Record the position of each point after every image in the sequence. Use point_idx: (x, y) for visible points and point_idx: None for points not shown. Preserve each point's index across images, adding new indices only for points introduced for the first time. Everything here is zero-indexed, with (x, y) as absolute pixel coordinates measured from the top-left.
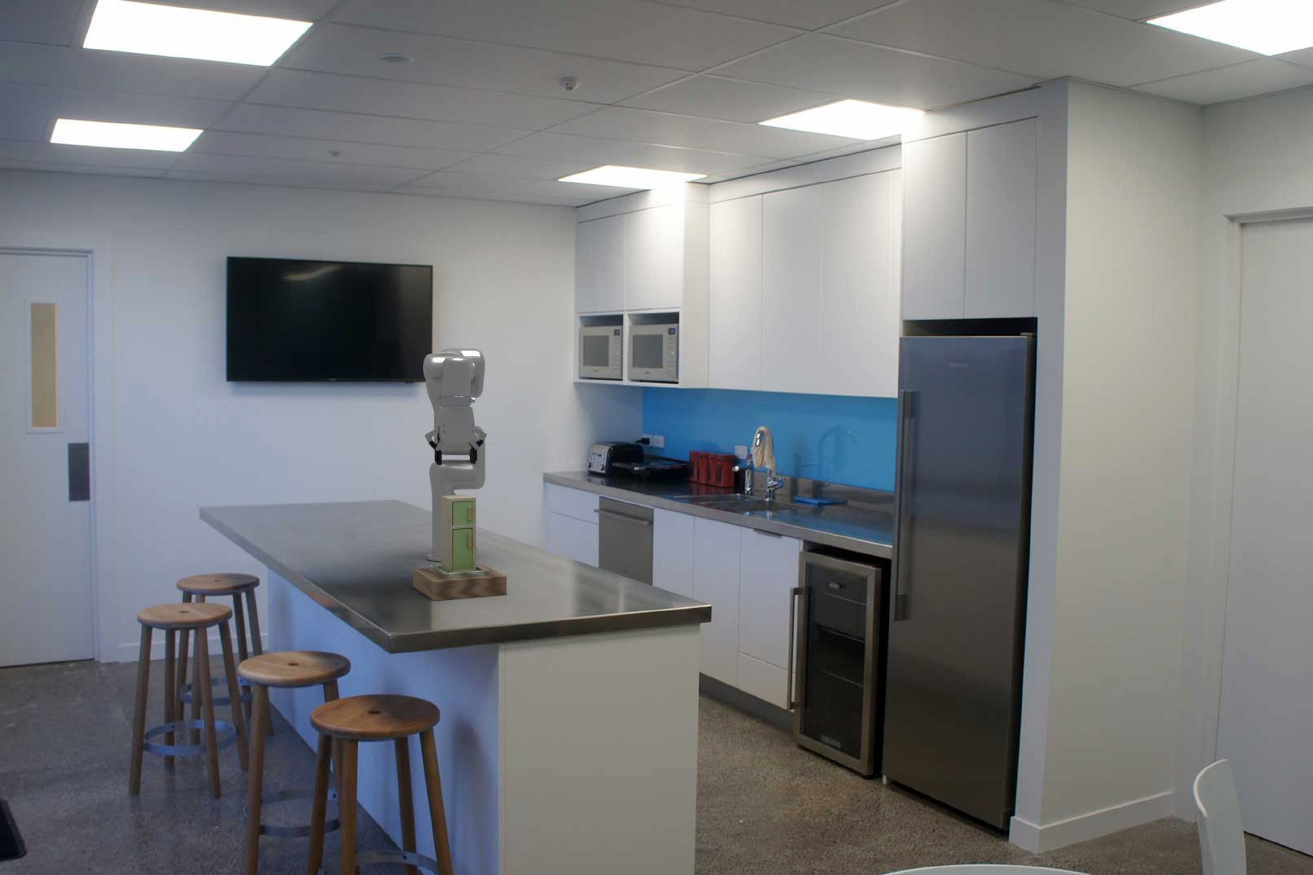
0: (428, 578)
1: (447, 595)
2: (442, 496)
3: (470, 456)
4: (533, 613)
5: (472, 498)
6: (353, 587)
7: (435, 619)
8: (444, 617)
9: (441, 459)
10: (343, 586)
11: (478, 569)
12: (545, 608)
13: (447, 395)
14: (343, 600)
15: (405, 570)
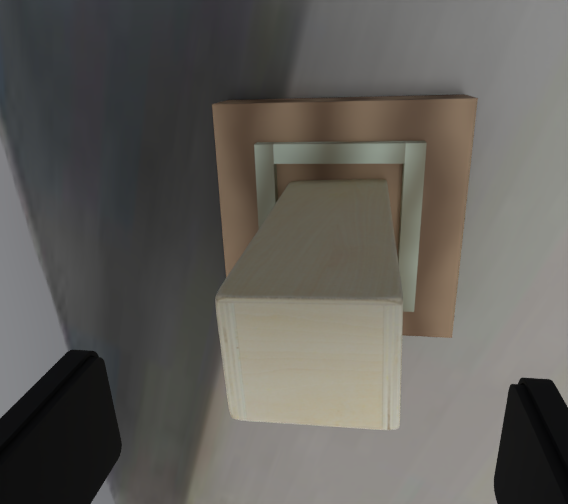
0: (226, 273)
1: None
2: (217, 320)
3: (535, 472)
4: (408, 496)
5: (375, 425)
6: (59, 37)
7: (205, 454)
8: (226, 448)
9: (87, 499)
10: (31, 7)
11: (399, 245)
12: (456, 473)
13: None
14: (35, 208)
15: None
